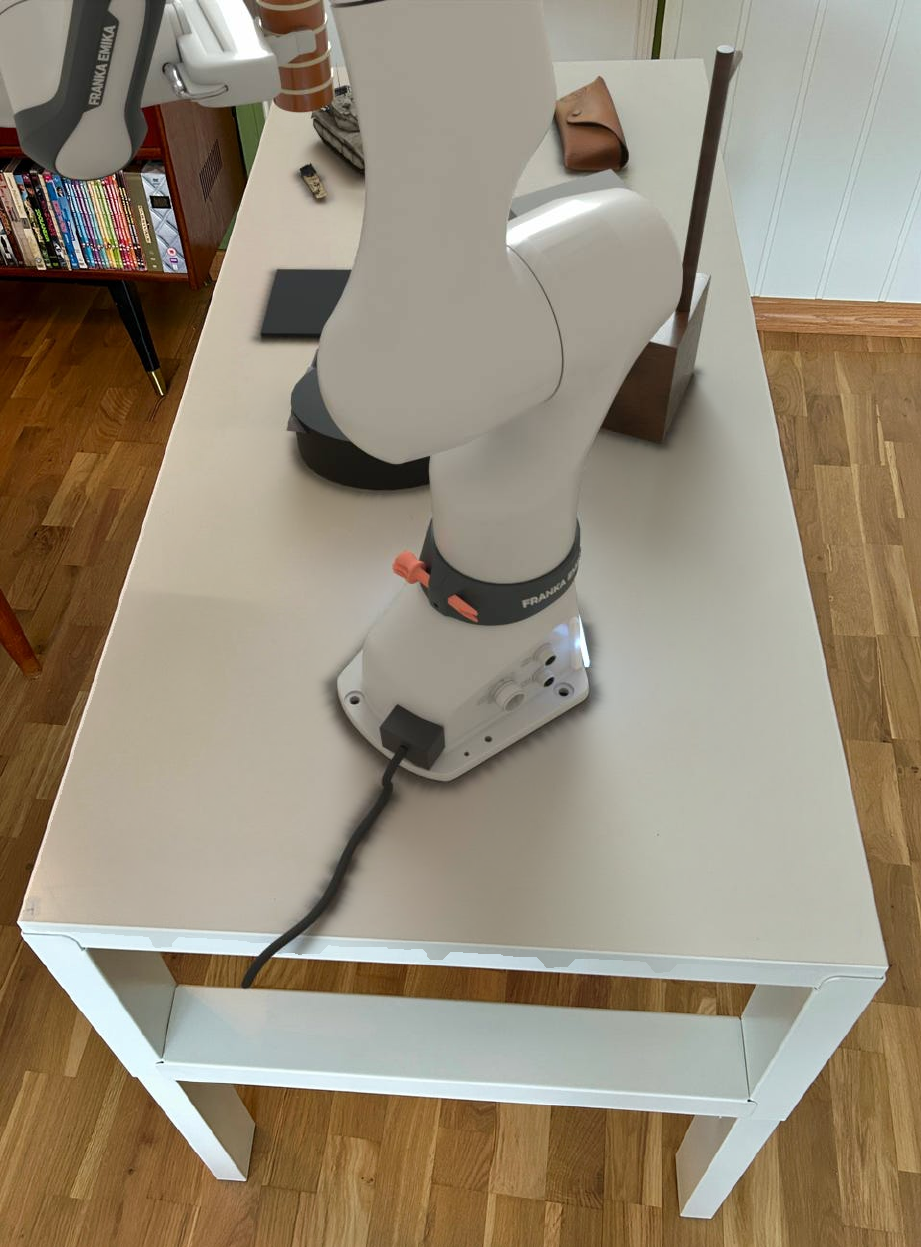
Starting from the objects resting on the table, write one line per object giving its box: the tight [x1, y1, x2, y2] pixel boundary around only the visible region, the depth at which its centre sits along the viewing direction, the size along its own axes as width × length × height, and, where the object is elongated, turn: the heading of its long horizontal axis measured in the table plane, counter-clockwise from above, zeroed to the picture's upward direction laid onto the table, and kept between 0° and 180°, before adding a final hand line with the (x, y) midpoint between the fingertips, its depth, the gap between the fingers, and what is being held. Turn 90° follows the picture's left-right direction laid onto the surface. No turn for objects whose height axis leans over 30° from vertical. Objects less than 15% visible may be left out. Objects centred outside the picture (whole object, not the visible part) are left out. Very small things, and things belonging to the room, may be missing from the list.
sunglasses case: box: [553, 75, 630, 172], centre depth 143 cm, size 18×7×7 cm
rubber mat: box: [260, 268, 352, 339], centre depth 123 cm, size 12×12×1 cm
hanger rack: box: [600, 44, 744, 445], centre depth 99 cm, size 12×12×36 cm
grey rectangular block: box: [508, 169, 635, 221], centre depth 129 cm, size 10×4×15 cm
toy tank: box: [310, 64, 365, 174], centre depth 139 cm, size 8×18×10 cm, turn 33°
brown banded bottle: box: [256, 0, 335, 114], centre depth 98 cm, size 6×6×16 cm
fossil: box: [299, 162, 328, 199], centre depth 138 cm, size 8×2×1 cm, turn 22°
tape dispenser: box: [286, 348, 430, 491], centre depth 107 cm, size 14×18×8 cm
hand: (302, 19), depth 99 cm, fingers closed on brown banded bottle, 6 cm apart
